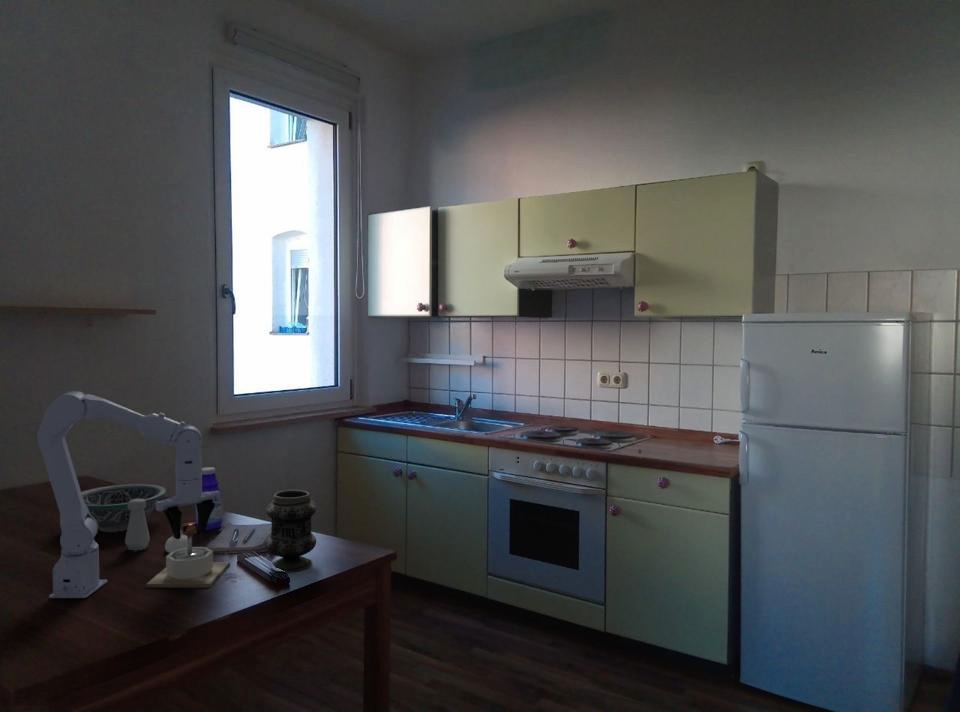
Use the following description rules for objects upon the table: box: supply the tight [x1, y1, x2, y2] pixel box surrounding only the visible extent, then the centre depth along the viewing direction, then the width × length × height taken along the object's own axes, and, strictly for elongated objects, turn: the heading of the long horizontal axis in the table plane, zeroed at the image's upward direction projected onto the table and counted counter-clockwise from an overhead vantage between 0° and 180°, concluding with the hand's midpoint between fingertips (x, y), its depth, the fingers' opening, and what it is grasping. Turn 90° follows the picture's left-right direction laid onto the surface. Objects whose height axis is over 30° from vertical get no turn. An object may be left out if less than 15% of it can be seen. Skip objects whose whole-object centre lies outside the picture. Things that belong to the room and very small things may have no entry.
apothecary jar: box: [265, 489, 317, 573], centre depth 170 cm, size 12×12×18 cm
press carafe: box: [165, 546, 214, 580], centre depth 163 cm, size 9×9×4 cm
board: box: [146, 561, 231, 588], centre depth 163 cm, size 14×14×1 cm
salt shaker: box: [124, 499, 151, 552], centre depth 181 cm, size 6×6×13 cm
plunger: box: [175, 521, 204, 559], centre depth 163 cm, size 6×6×8 cm
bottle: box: [194, 466, 223, 532], centre depth 199 cm, size 7×6×17 cm
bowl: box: [81, 483, 167, 533], centre depth 200 cm, size 25×25×10 cm
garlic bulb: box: [164, 527, 187, 554], centre depth 181 cm, size 6×6×8 cm
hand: (189, 535), depth 163 cm, fingers open, 5 cm apart
